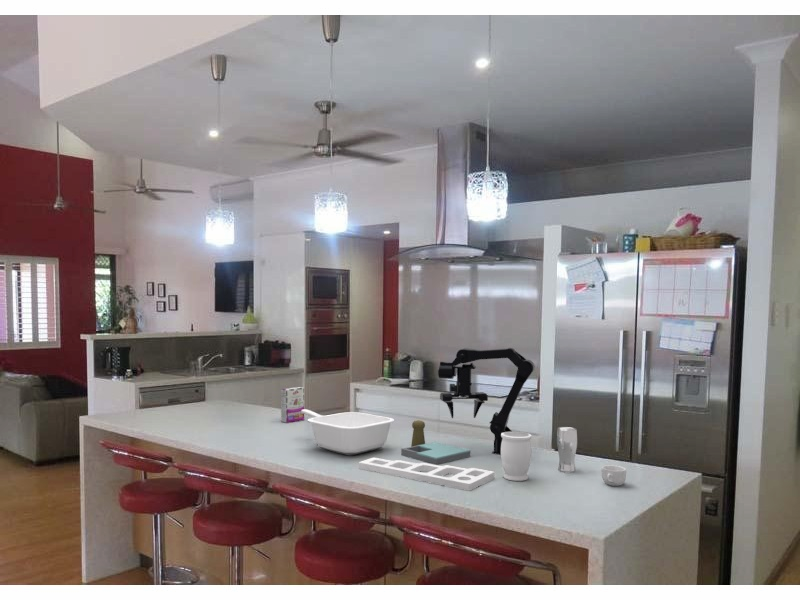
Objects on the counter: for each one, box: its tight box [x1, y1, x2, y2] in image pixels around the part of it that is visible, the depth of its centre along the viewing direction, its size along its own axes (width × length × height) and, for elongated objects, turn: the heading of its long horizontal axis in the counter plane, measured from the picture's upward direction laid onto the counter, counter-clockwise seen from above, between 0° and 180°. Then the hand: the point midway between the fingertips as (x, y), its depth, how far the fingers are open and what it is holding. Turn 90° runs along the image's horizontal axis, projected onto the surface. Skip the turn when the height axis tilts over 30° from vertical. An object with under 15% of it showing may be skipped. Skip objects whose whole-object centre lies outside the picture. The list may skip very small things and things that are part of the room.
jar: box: [500, 431, 532, 482], centre depth 216 cm, size 11×10×15 cm
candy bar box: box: [280, 386, 305, 424], centre depth 314 cm, size 11×5×16 cm, turn 138°
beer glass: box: [556, 426, 578, 473], centre depth 227 cm, size 7×7×15 cm
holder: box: [358, 457, 495, 491], centre depth 221 cm, size 45×18×3 cm, turn 56°
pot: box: [301, 408, 395, 456], centre depth 260 cm, size 28×44×13 cm, turn 48°
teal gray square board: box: [400, 441, 471, 465], centre depth 246 cm, size 19×19×2 cm
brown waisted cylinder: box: [410, 419, 426, 447], centre depth 260 cm, size 6×6×11 cm
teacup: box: [601, 464, 627, 487], centre depth 209 cm, size 10×8×5 cm
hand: (463, 417), depth 256 cm, fingers open, 9 cm apart
